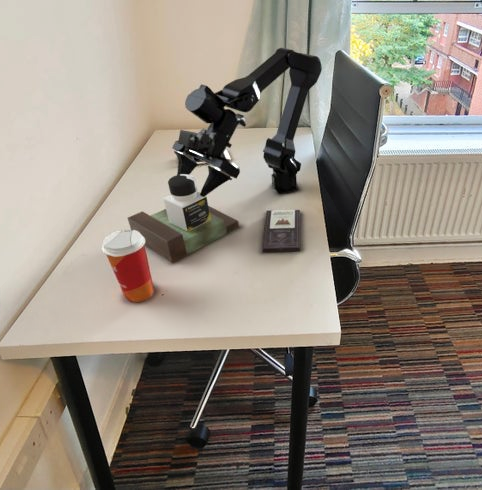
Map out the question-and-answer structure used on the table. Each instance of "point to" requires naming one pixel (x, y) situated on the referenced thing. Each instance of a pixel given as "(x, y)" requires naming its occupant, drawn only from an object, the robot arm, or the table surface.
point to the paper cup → (129, 264)
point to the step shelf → (179, 233)
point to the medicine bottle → (186, 203)
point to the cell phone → (225, 155)
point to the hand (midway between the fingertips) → (189, 190)
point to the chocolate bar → (282, 231)
